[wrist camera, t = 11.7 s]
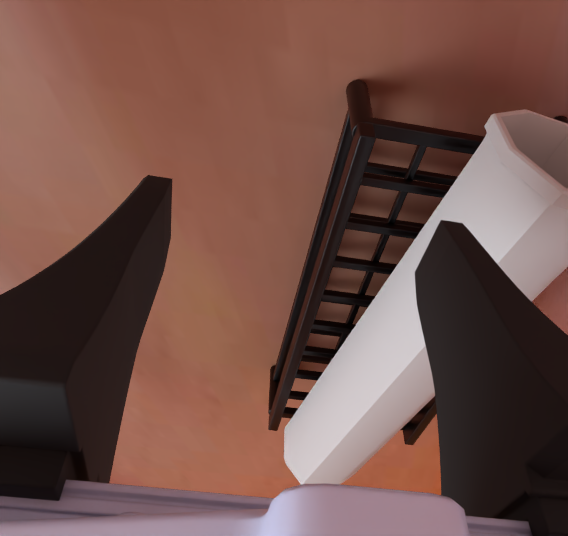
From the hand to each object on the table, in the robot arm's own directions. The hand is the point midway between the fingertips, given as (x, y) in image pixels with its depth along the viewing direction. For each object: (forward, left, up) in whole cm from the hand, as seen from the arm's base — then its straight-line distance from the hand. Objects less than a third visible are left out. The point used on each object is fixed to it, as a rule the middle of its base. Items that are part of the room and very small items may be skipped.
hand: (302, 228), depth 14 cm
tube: (-13, +3, -7) cm, 15 cm away
